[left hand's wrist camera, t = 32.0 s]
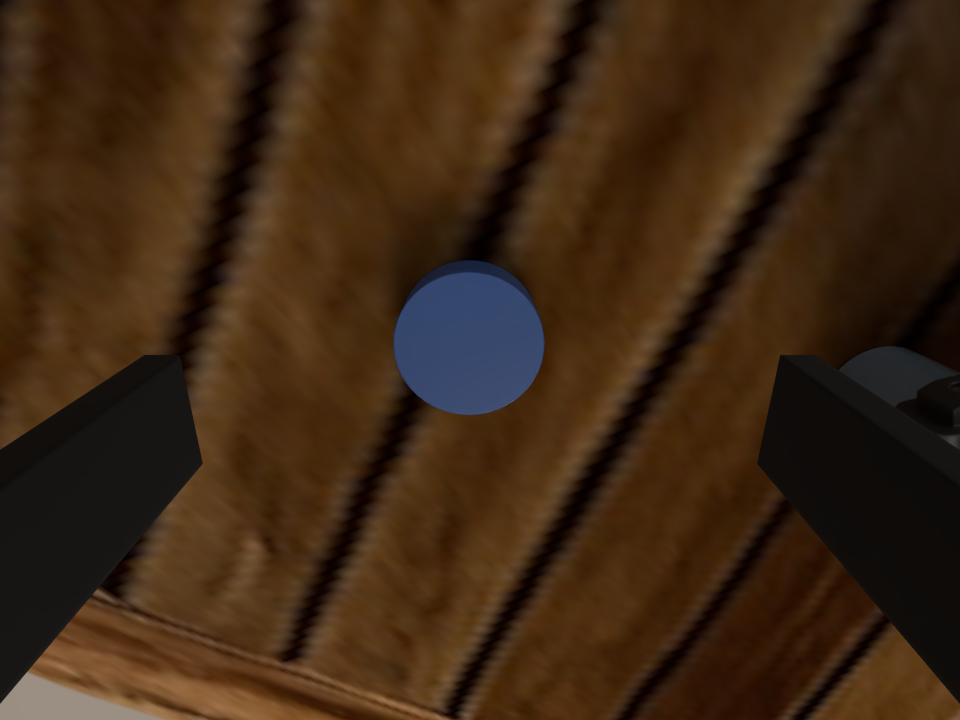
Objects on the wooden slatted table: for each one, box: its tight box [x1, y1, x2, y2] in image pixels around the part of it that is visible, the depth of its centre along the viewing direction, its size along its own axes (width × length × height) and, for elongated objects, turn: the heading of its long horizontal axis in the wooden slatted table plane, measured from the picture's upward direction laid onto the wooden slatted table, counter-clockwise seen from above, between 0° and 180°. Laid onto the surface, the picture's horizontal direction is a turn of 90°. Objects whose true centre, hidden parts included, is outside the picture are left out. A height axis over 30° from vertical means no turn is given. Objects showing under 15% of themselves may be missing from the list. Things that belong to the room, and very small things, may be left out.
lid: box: [393, 260, 544, 415], centre depth 21 cm, size 5×5×2 cm
